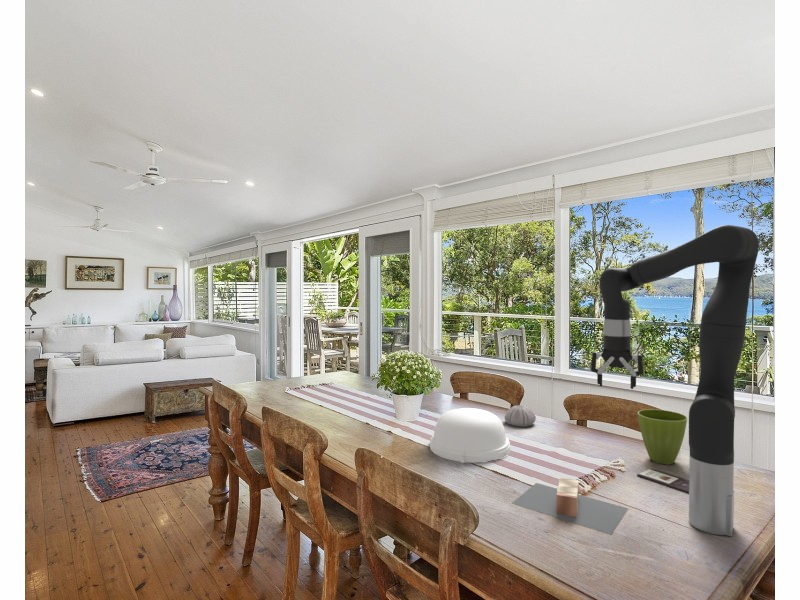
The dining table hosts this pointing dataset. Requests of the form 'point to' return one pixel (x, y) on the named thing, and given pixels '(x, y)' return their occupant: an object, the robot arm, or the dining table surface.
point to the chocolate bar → (666, 479)
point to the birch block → (567, 497)
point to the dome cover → (469, 436)
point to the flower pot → (662, 434)
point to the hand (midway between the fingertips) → (616, 387)
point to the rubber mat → (588, 510)
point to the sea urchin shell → (520, 416)
